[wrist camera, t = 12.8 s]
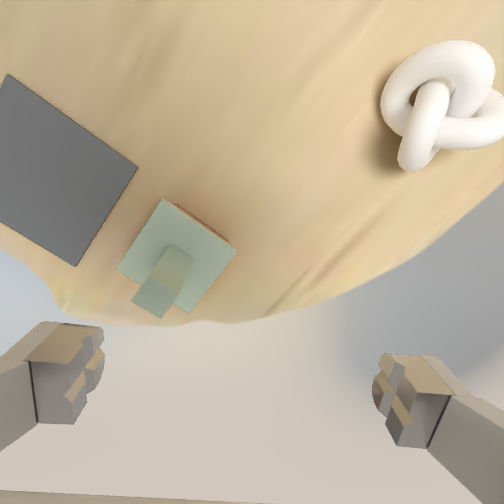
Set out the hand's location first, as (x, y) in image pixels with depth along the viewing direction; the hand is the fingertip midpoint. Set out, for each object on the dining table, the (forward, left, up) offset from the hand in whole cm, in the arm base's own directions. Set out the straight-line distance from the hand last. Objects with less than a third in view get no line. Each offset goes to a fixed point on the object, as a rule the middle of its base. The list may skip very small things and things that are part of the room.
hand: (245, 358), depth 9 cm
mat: (-20, -13, -31) cm, 39 cm away
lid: (-2, -10, -26) cm, 28 cm away
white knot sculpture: (+10, +20, -31) cm, 38 cm away
